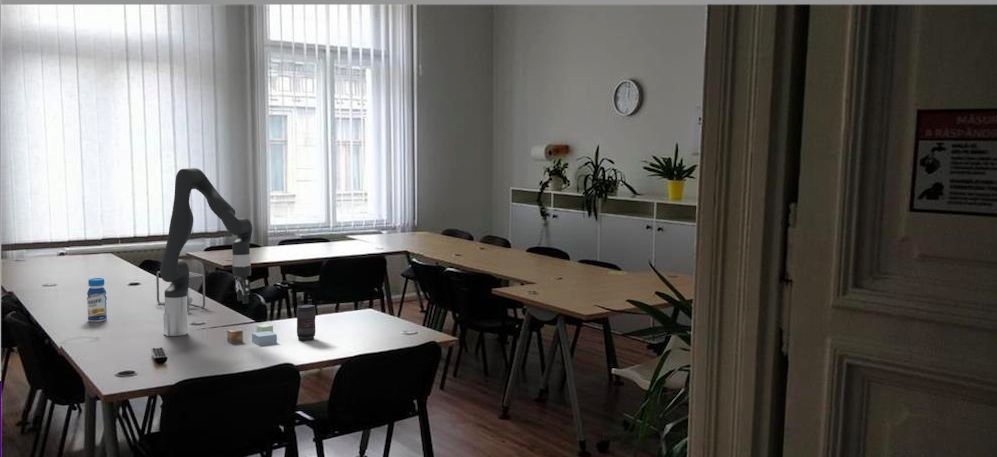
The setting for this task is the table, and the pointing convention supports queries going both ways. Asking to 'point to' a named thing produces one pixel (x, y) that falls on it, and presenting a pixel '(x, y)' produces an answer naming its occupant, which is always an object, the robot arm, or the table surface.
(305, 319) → the camera lens
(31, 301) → the table surface
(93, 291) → the beverage bottle
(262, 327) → the sage cube
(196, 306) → the newton's cradle
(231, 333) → the walnut cube
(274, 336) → the slate base block
